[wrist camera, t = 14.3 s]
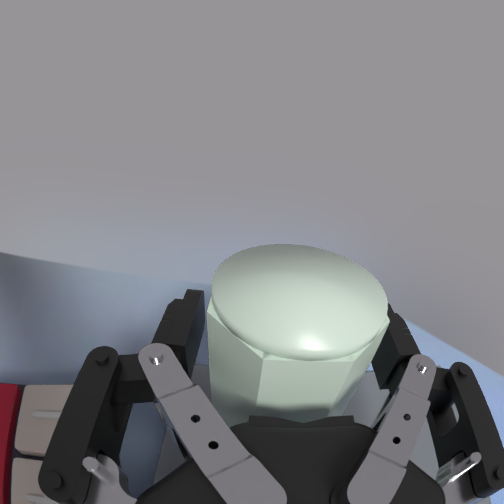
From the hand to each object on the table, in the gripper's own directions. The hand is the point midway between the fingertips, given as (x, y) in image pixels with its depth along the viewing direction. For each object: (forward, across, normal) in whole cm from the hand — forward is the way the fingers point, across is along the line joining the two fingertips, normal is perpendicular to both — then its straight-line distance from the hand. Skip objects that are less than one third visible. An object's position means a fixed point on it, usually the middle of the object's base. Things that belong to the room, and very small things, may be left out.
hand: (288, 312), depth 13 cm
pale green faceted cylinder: (-2, 0, +7) cm, 7 cm away
